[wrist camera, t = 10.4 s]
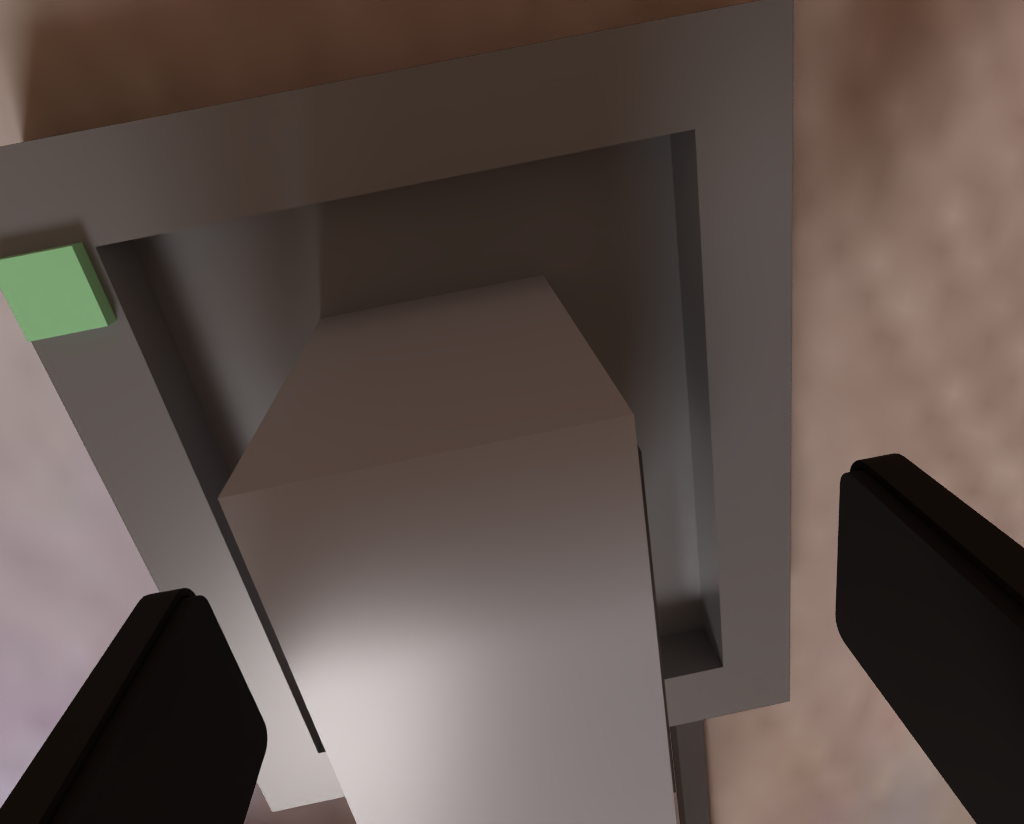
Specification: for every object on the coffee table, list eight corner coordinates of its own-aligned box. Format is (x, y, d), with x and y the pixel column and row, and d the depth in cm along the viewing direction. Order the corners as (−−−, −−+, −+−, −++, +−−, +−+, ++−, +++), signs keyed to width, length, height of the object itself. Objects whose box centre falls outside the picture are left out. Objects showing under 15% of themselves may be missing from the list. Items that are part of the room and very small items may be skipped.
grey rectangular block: (550, 273, 12) (649, 412, 6) (597, 582, 15) (690, 857, 9) (320, 318, 12) (217, 499, 6) (413, 620, 15) (398, 921, 9)
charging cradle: (735, 13, 11) (804, -10, 9) (751, 638, 17) (796, 711, 15) (20, 150, 11) (-79, 159, 9) (290, 736, 17) (269, 824, 15)
